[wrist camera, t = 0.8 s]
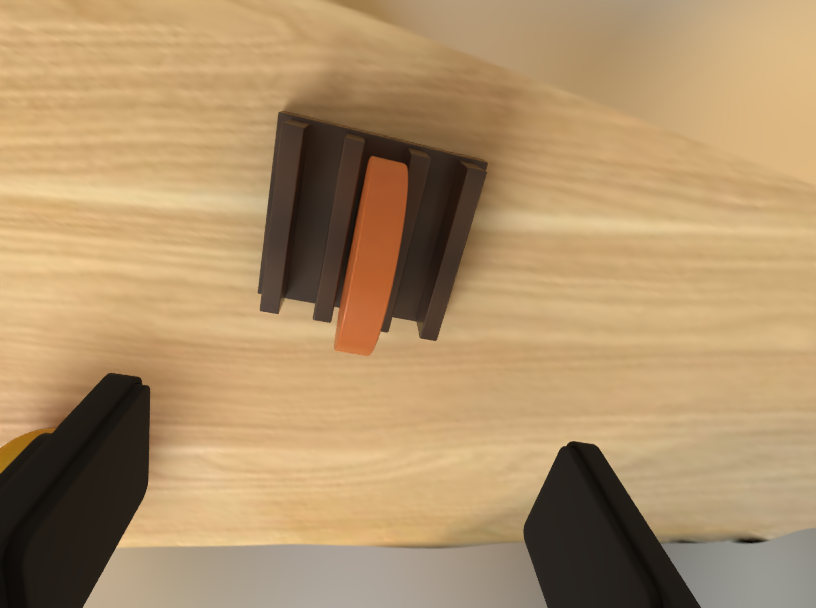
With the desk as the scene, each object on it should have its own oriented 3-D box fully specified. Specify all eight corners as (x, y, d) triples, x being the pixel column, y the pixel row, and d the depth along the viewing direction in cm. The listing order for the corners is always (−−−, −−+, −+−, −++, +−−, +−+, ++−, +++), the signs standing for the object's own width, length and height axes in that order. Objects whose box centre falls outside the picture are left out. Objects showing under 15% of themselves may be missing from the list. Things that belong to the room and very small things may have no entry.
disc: (370, 144, 24) (371, 174, 16) (400, 151, 24) (417, 185, 16) (339, 300, 27) (328, 390, 19) (366, 305, 28) (366, 396, 20)
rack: (281, 110, 24) (268, 114, 21) (484, 160, 26) (500, 170, 22) (261, 286, 28) (247, 312, 25) (437, 318, 30) (445, 346, 26)
